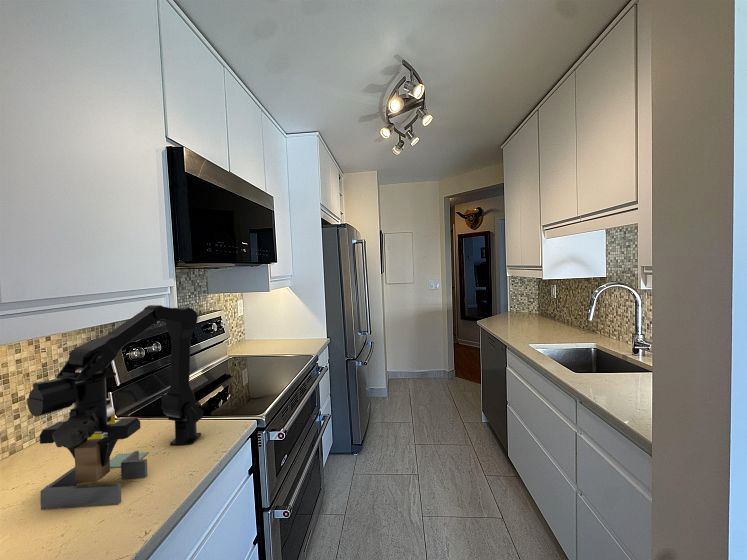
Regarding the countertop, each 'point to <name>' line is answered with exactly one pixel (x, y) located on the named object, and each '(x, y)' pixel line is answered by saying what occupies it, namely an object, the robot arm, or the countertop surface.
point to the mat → (117, 460)
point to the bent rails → (90, 488)
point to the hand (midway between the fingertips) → (93, 466)
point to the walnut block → (89, 462)
